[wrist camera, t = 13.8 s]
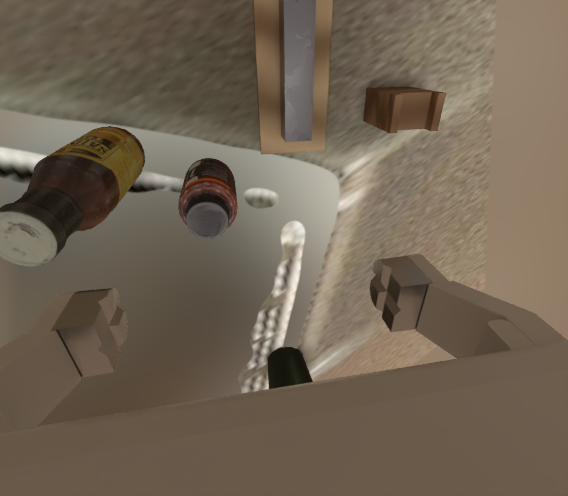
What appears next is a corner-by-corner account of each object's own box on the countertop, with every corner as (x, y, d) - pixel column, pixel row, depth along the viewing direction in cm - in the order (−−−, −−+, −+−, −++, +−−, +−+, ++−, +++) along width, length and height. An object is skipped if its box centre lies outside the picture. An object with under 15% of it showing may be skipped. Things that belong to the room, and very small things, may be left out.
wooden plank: (246, -138, 26) (246, -141, 26) (338, -132, 28) (340, -134, 27) (261, 153, 39) (261, 154, 39) (324, 149, 40) (325, 150, 40)
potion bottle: (314, 354, 60) (346, 455, 45) (283, 378, 62) (304, 482, 47) (286, 336, 56) (310, 440, 41) (253, 361, 58) (266, 469, 43)
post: (366, 88, 37) (395, 94, 31) (409, 86, 38) (446, 93, 32) (363, 120, 39) (389, 133, 33) (404, 118, 40) (437, 130, 34)
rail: (276, -104, 27) (282, -120, 25) (310, -102, 28) (319, -118, 25) (281, 136, 38) (285, 142, 35) (305, 134, 38) (311, 140, 36)
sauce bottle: (131, 117, 35) (49, 176, 18) (156, 171, 38) (106, 263, 21) (72, 132, 34) (-68, 207, 18) (102, 186, 38) (9, 290, 21)
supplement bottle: (180, 160, 38) (166, 195, 28) (230, 153, 38) (233, 186, 29) (191, 205, 41) (183, 252, 31) (238, 199, 42) (243, 242, 32)
